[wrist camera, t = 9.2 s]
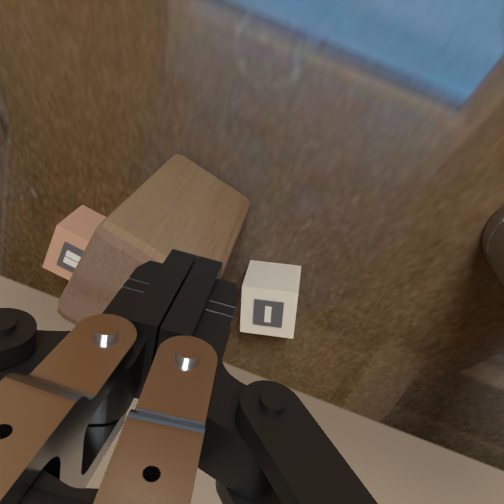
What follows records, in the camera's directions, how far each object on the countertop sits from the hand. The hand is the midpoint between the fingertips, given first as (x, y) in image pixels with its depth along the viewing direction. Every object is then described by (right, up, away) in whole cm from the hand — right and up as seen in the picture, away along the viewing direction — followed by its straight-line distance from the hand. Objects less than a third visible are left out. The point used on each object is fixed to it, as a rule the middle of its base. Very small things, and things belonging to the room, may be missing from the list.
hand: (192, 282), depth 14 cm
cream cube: (+4, -3, +43) cm, 43 cm away
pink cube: (-17, +3, +44) cm, 47 cm away
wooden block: (-5, +6, +40) cm, 41 cm away
